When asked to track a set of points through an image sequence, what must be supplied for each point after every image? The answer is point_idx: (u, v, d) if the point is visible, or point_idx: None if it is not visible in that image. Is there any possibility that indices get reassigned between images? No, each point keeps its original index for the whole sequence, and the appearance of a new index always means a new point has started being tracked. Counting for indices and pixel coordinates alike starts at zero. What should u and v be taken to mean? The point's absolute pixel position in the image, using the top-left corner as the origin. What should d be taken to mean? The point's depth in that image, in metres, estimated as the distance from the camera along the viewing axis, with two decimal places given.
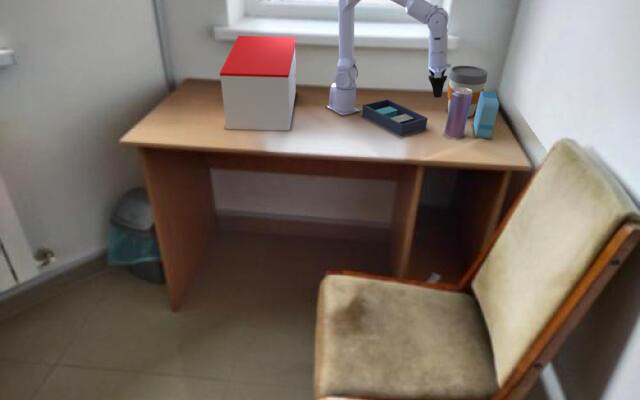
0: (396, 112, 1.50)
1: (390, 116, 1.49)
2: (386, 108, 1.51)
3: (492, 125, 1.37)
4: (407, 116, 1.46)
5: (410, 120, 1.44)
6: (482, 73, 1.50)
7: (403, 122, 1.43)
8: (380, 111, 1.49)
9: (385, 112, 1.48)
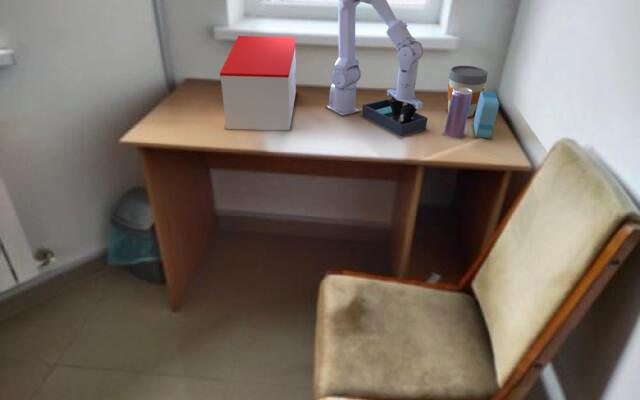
0: None
1: (390, 116, 1.49)
2: (386, 108, 1.51)
3: (492, 125, 1.37)
4: None
5: None
6: (482, 73, 1.50)
7: None
8: (380, 111, 1.49)
9: (385, 112, 1.48)
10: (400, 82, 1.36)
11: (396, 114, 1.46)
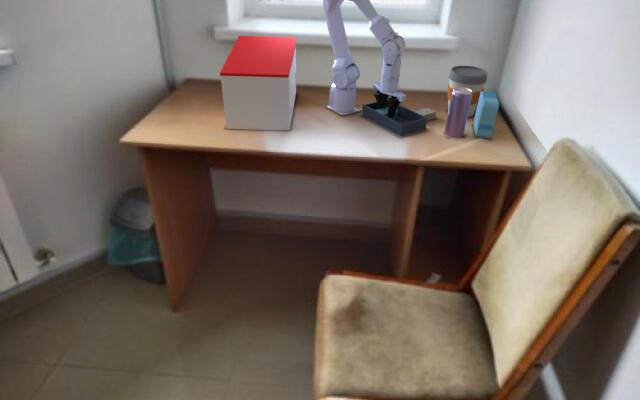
0: (396, 112, 1.50)
1: None
2: (386, 108, 1.51)
3: (492, 125, 1.37)
4: (430, 110, 1.52)
5: (433, 113, 1.51)
6: (482, 73, 1.50)
7: (426, 115, 1.49)
8: (380, 111, 1.49)
9: (385, 112, 1.48)
10: (385, 76, 1.41)
11: (381, 107, 1.51)
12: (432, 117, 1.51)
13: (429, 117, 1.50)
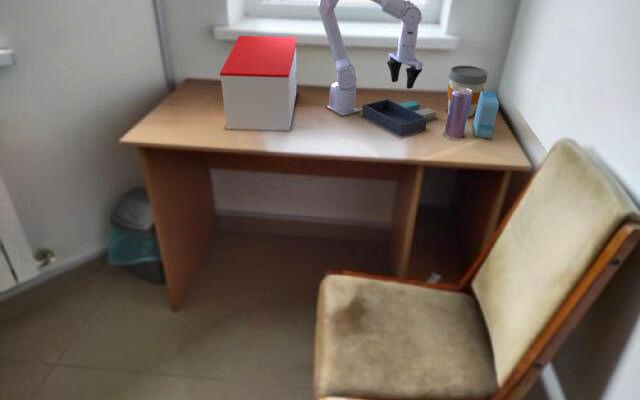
0: (418, 106, 1.57)
1: (412, 110, 1.56)
2: (408, 102, 1.58)
3: (492, 125, 1.37)
4: (430, 110, 1.52)
5: (433, 113, 1.51)
6: (482, 73, 1.50)
7: (426, 115, 1.49)
8: (403, 105, 1.55)
9: (408, 106, 1.55)
10: (406, 44, 1.42)
11: (394, 75, 1.53)
12: (432, 117, 1.51)
13: (429, 117, 1.50)
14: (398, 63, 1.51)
